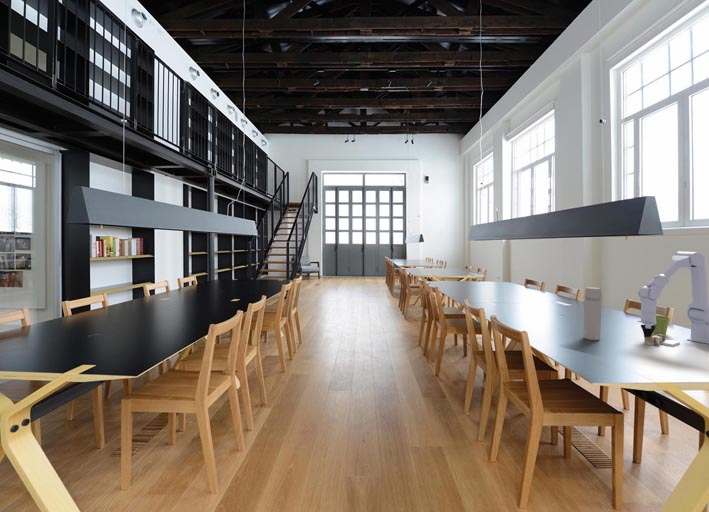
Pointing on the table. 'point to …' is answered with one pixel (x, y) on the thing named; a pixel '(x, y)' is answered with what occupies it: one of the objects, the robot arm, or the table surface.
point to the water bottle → (592, 313)
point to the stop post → (657, 341)
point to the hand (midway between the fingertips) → (647, 340)
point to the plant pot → (661, 325)
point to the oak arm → (652, 339)
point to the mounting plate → (670, 343)
